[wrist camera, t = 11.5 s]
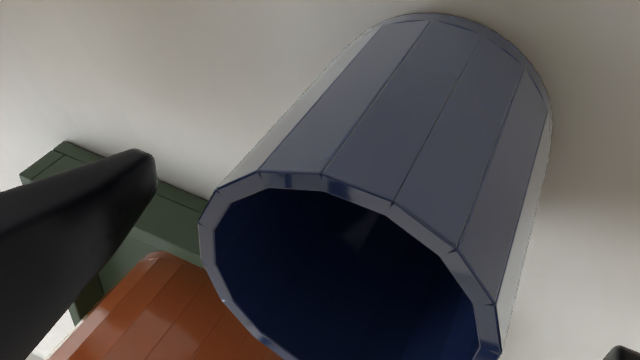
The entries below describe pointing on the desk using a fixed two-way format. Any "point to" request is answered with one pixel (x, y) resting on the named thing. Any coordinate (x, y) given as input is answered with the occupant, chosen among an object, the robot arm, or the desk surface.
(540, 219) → the desk surface
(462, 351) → the small cup
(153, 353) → the large cup
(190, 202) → the tray
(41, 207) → the robot arm
